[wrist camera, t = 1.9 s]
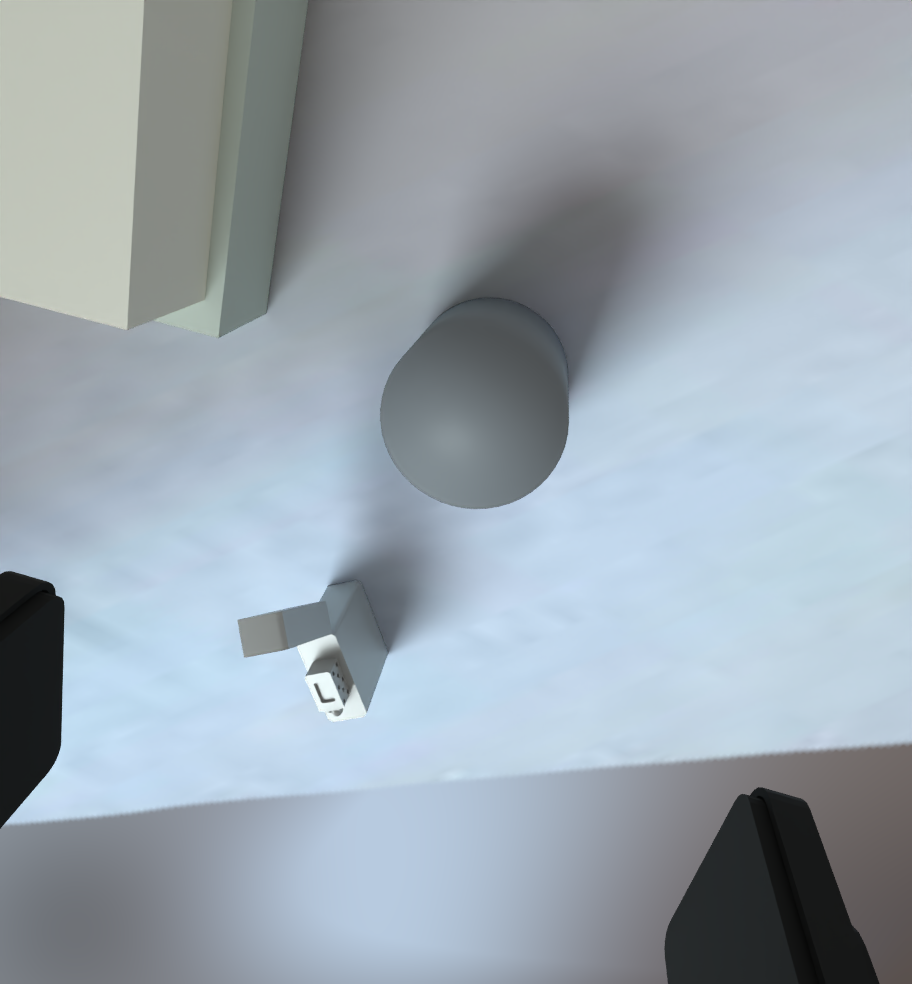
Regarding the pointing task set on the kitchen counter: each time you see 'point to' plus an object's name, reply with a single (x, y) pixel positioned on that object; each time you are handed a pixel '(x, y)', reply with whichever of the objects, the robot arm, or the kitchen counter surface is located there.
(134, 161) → the tower top block
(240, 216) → the tower bottom block
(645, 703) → the kitchen counter surface
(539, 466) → the cylinder
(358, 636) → the lighter
